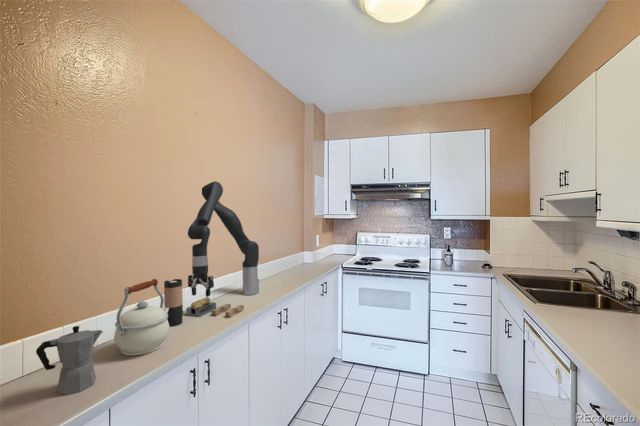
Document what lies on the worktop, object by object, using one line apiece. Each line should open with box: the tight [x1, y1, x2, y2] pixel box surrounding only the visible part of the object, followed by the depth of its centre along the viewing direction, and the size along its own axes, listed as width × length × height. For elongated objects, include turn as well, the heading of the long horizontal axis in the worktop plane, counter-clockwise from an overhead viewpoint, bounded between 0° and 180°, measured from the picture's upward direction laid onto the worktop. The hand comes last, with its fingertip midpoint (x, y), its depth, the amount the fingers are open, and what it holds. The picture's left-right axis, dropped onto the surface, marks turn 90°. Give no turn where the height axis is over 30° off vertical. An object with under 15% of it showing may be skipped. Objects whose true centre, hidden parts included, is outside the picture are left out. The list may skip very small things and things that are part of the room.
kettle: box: [113, 278, 170, 357], centre depth 118 cm, size 25×18×25 cm
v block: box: [185, 301, 217, 318], centre depth 156 cm, size 12×9×4 cm
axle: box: [190, 296, 211, 310], centre depth 156 cm, size 10×4×4 cm, turn 161°
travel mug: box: [163, 278, 184, 327], centre depth 140 cm, size 8×8×20 cm
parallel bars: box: [211, 303, 245, 319], centre depth 154 cm, size 12×11×2 cm
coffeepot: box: [35, 325, 104, 395], centre depth 90 cm, size 15×9×18 cm, turn 137°
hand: (201, 295), depth 155 cm, fingers open, 8 cm apart
